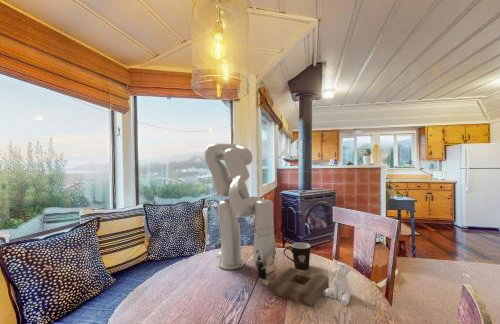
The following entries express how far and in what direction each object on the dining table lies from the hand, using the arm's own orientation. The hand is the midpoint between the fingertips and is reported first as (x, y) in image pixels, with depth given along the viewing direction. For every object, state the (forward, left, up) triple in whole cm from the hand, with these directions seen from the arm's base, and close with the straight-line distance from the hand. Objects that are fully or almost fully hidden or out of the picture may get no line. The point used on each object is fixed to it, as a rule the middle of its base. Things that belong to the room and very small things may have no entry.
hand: (266, 275), depth 99 cm
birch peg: (0, 0, -3) cm, 3 cm away
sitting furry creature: (+28, +6, -3) cm, 28 cm away
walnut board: (+14, +2, -3) cm, 14 cm away
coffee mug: (+4, +21, -3) cm, 22 cm away
